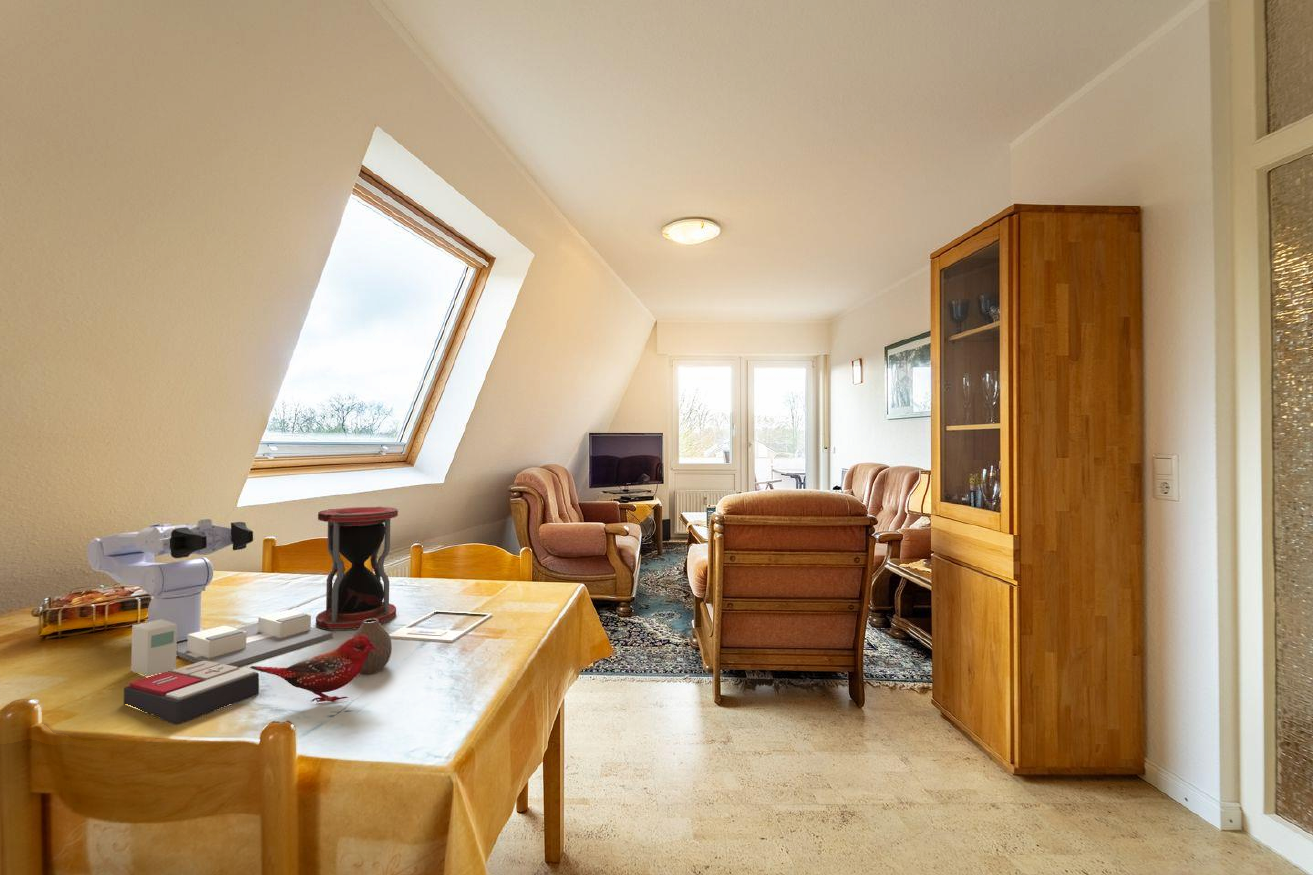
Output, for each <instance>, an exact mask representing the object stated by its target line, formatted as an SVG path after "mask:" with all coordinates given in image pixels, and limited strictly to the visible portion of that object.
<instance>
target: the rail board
mask: <svg viewBox="0 0 1313 875" xmlns="http://www.w3.org/2000/svg"><path fill="white" fill-rule="evenodd" d="M257 618H258V619H257V620H258V621H257V622H258V623H255V624H249V625H246V626H242V627H238V628H235V627H231V626H228V625H221V626H217V627H212V628H209V629H204V631H200V632H196V633H191V634H188V639H187V641H186V640H185V641H182V642H179V643H177V649H176V655H177V656H176V657H178V656H179V658H180V657H181V659H183V660H185V659H186V661H189V662H191V663H193V662H195V663H197V662H200V661H210V662H215V663H220V664H225V665H230V666H235V667H238V668H239V667H242V666H244V665H248V664H251V663H253V662H257V661H261V660H264V659H267V658H270V657H274V656H277V655H280V654H284V653H286V652H290V651H293V650H296V649H300V648H304V647H305V646H309V645H313V644H316V643H319V642H322V641H326V640H329V639H332V638H333V637H334V636H333V634H334V633H333V632H332V631H329V630H326V629H322V628H318V627H317V628H316V627H312V622H311V621H312V615H311V614H308V613H303V612H300V611H295V610H292V609H286V610H283V611H282V610H281V611H279V612H274V613H270V614H266V615H261V616H257Z"/></svg>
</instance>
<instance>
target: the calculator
mask: <svg viewBox="0 0 1313 875" xmlns="http://www.w3.org/2000/svg"><path fill="white" fill-rule="evenodd" d="M259 674H260V673H258V672H255V671H254V670H249V669H243V668H239V666H238V667H235V666H230V665H225V664H220V663H215V662H210V661H200V662H197V663H191V664H188V665H185V666H181V667H178V668H177V667H176V669H174V670H172V671H170V672H164V673H161V674H157V675H154V676H151V677H148V678H145V677H143V678H141V679H139V680H138V679H137V680H134V681H131V682H129V685H128V686H125V687H124V689H123V705H124V704H128V705H131V706H133V707H136V708H138V709H140V710H142V711H144V712H147V713H148V715H150V714H153V715H152V716H154V715H155V716H154V717H157V718H161V719H160V720H162V719H163V720H162V721H164V720H165V721H164V722H167V721H168V722H167V723H170V724H172V725H176V726H179V725H182V724H184V723H187V722H190V721H193V720H195V719H198V718H200V716H201V717H203V716H205V714H206V715H209V714H211V713H213V711H214V712H216V711H218V710H217V709H219V708H221V707H224V706H227V705H229V704H232V705H234V703H235V704H237V703H241V702H242V701H244V700H248V699H250V698H253V697H256V696H258V695H260V677H259V676H260V675H259ZM229 706H230V705H229ZM227 707H228V706H227ZM224 708H225V707H224ZM215 710H216V711H215ZM219 710H220V709H219ZM144 712H143V713H144ZM147 713H146V714H147ZM202 715H203V716H202Z"/></svg>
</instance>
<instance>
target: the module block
mask: <svg viewBox="0 0 1313 875" xmlns="http://www.w3.org/2000/svg"><path fill="white" fill-rule="evenodd" d="M131 631H132V632H131V657H130V659H131V660H130V663H131V664H130V666H131V667H130V672H131V671H133V672H132V673H134V672H136V673H140V674H142V675H144V676H146V677H147V676H151V675H155V674H159V673H164V672H168V671H170V672H171V671H172V670H174V669H177V656H176V649H177V644H178V643H177V624H175V623H172V622H169V621H165V620H162V619H160V620H155V621H150V622H148V621H147V622H141V623H137V624H133V625H132V627H131ZM136 673H135V674H136Z"/></svg>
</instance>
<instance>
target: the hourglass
mask: <svg viewBox="0 0 1313 875" xmlns="http://www.w3.org/2000/svg"><path fill="white" fill-rule="evenodd" d="M398 515H399V509H398V508H396V507H389V506H387V507H386V506H363V507H361V506H357V507H341V508H328V509H326V510H325V509H324V510H321V511H319V512H317V520H318V521H321V522H327V546H326V548H327V552H328V554H329V555H330V556H331V559H332V568H331V571H330V572H329V574H328V575H327V578H326V590H325V591H326V592H325V593H326V595H325V596H326V600H325V602H326V603H325V606H326V607H325V610H323V611H321V612H319V613H318V614H317V615H316V616H315V625H316V627H317V628H318V629H321V630H326V631H347V630H358V629H359V628H360V627H361V625H362V622H363V621H364V620H367V619H378V621H379V623H380V624H381V625H382V624H383V623H386V621H387V622H389V621H391V620H392V619H394V618H395V617H396V615H397V607H396V606H395V605H394V604H393V603H390V579H389V576H388V575H387V574H386V572H385V567H384V563H385V559H386V557H387V556H388V555H389V553H390V550H391V519H393V518H397V517H398ZM383 542H384V546H383V547H384V549H383V551H382V553H381V554H380V556H379V557H378V552H380V548H381V547H382V546H381V545H382V543H383ZM340 554H341V555H340ZM341 556H343V557H344V559H346V560H347V561H348V562H349V563H351V567H350V568H349V569H348V570H347V571H345V570H346V568H345V562H344V561H343V559H342V558H341ZM368 559H370V565H371V568H372V570H373V571H371V570H370V569H369V568H368V567H366V566H365V563H366V561H367V560H368ZM335 575H336V578H335V580H334V577H335ZM381 579H382V582H383V583H382V582H381ZM333 580H334V582H333Z"/></svg>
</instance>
